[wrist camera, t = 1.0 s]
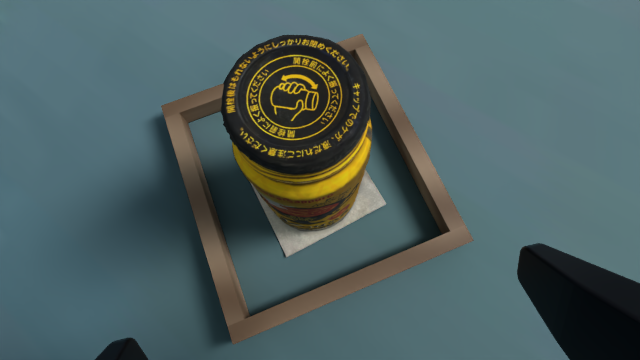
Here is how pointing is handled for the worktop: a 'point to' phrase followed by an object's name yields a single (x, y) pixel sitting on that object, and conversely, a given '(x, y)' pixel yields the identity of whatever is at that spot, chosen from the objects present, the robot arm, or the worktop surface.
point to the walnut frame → (248, 326)
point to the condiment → (302, 135)
